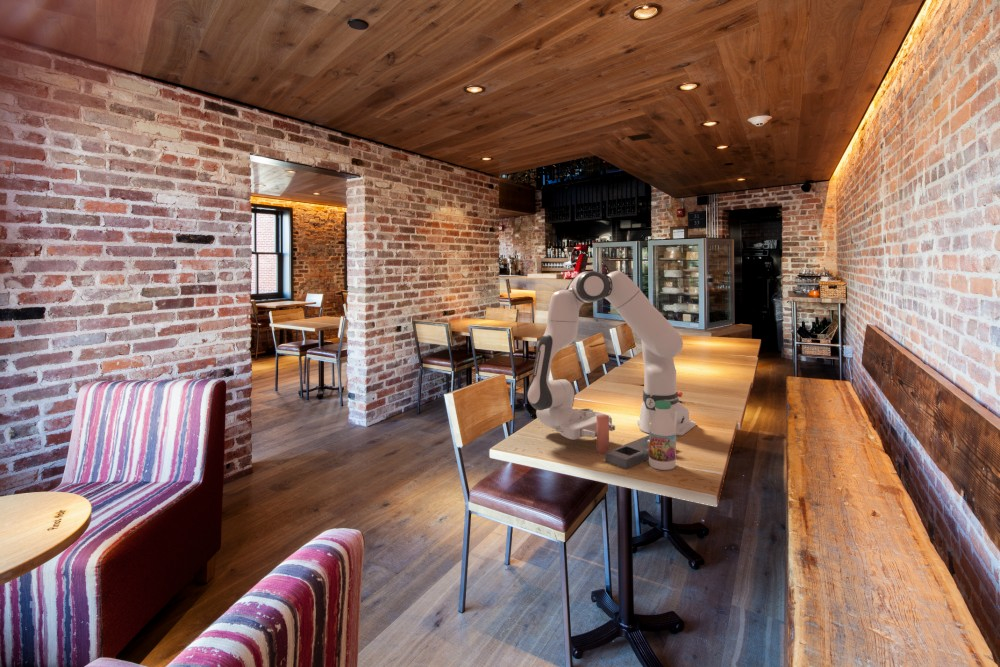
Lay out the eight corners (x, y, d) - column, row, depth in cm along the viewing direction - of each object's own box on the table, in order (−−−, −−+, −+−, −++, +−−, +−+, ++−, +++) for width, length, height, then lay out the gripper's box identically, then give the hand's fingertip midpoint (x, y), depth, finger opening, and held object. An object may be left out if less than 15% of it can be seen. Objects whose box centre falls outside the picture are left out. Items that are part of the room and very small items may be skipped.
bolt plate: (652, 442, 169) (652, 416, 167) (673, 448, 162) (673, 422, 161) (605, 461, 153) (605, 433, 152) (626, 469, 147) (626, 440, 146)
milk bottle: (648, 459, 154) (649, 397, 151) (674, 461, 152) (675, 399, 149) (648, 469, 146) (649, 404, 144) (676, 472, 144) (677, 406, 142)
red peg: (602, 448, 165) (601, 413, 163) (611, 451, 161) (611, 416, 160) (594, 451, 162) (593, 416, 160) (603, 454, 159) (603, 419, 157)
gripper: (552, 419, 164) (583, 429, 153) (592, 407, 177) (624, 415, 166) (552, 437, 165) (583, 448, 154) (592, 424, 178) (624, 433, 167)
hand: (604, 431), depth 160 cm, fingers open, 8 cm apart
